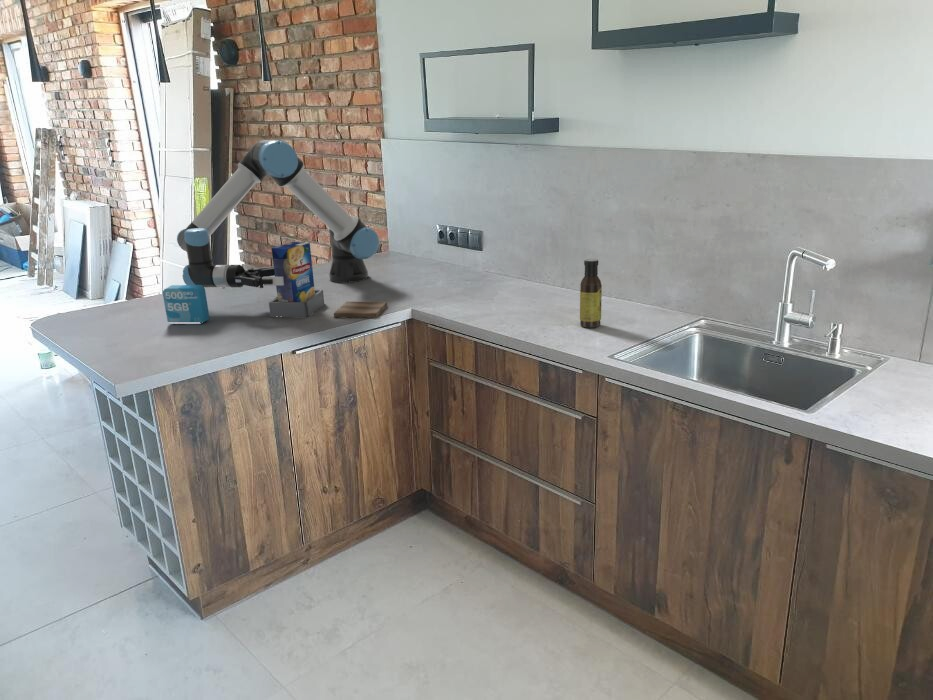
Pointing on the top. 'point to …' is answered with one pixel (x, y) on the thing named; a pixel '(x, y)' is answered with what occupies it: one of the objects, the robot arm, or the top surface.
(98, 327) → the top surface
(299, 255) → the beverage box
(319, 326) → the top surface
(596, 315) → the sauce bottle
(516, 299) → the top surface
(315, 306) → the charcoal crate
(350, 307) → the brown flat wooden slab
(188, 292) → the data package
